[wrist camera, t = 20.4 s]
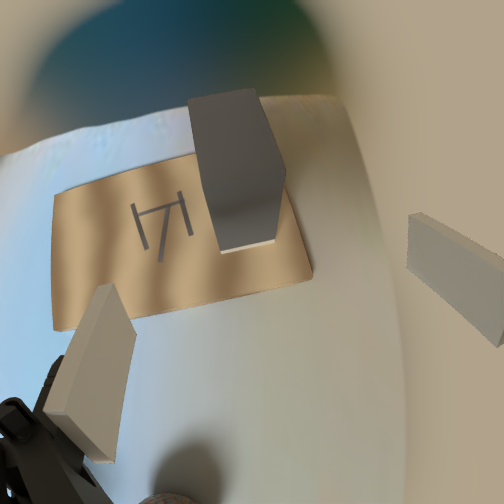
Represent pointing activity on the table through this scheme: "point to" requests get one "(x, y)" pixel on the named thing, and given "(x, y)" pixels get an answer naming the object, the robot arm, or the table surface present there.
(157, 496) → the vase
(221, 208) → the block
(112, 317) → the robot arm
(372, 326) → the table surface
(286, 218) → the board
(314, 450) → the table surface
